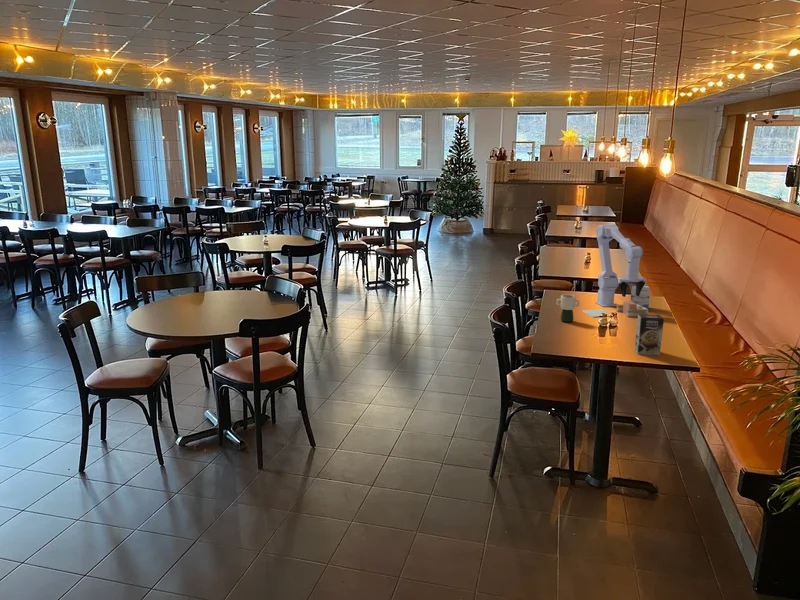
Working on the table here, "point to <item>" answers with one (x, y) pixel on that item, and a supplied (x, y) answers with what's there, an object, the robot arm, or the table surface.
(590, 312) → the pad
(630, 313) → the frame
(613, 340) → the table surface
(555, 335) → the table surface
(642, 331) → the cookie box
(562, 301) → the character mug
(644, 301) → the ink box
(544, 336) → the table surface
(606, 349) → the table surface
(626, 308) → the block
